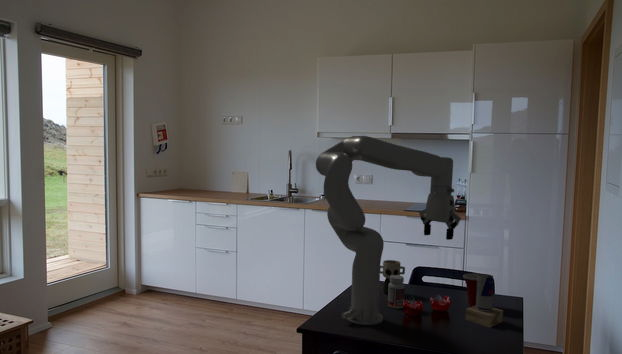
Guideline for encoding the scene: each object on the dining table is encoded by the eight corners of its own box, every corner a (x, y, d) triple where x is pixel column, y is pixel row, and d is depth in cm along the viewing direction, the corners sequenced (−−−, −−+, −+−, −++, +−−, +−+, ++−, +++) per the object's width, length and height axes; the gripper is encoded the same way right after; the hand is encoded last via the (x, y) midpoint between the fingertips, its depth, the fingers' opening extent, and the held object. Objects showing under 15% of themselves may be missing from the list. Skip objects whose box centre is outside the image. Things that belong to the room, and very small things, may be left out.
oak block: (489, 327, 159) (490, 315, 159) (465, 320, 166) (465, 308, 166) (502, 321, 165) (503, 310, 165) (478, 314, 172) (479, 303, 172)
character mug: (378, 295, 193) (379, 263, 192) (376, 289, 200) (377, 259, 199) (405, 296, 192) (406, 264, 192) (403, 291, 199) (404, 260, 199)
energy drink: (493, 312, 162) (495, 278, 162) (477, 311, 163) (478, 277, 163) (490, 307, 168) (492, 274, 167) (474, 306, 169) (476, 273, 168)
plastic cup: (471, 300, 190) (472, 270, 189) (496, 307, 181) (498, 276, 181) (456, 305, 182) (457, 274, 182) (482, 312, 174) (483, 280, 174)
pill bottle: (405, 305, 181) (406, 275, 180) (402, 310, 175) (403, 279, 175) (389, 302, 183) (390, 273, 183) (385, 307, 178) (386, 277, 177)
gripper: (467, 192, 170) (464, 240, 171) (427, 188, 183) (424, 232, 184) (455, 193, 165) (452, 242, 166) (415, 188, 178) (412, 234, 179)
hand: (438, 237), depth 175 cm, fingers open, 9 cm apart
